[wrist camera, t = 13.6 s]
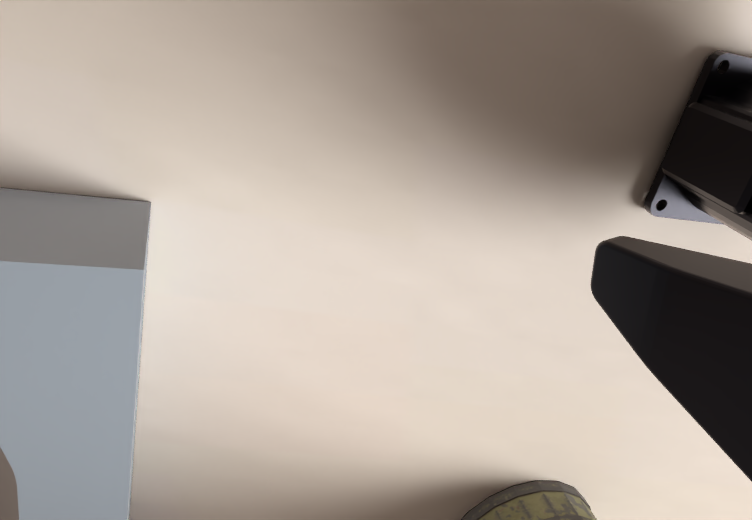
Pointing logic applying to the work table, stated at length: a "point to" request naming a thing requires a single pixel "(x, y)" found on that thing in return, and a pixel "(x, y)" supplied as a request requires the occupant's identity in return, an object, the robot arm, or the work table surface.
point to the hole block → (71, 350)
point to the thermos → (534, 503)
